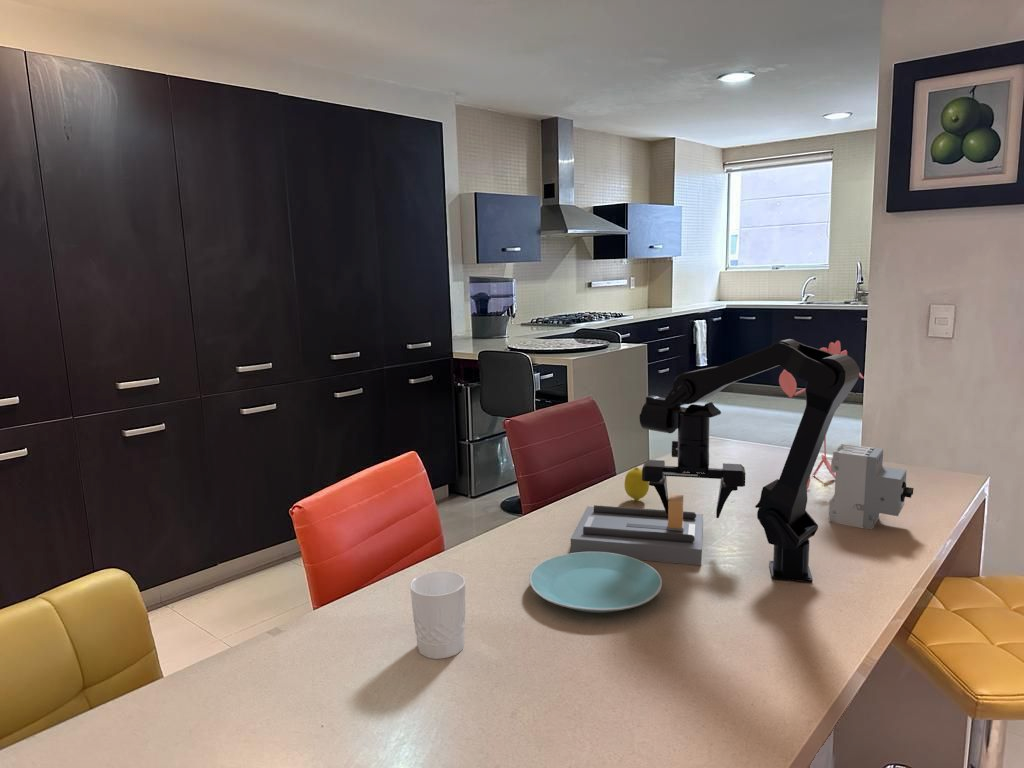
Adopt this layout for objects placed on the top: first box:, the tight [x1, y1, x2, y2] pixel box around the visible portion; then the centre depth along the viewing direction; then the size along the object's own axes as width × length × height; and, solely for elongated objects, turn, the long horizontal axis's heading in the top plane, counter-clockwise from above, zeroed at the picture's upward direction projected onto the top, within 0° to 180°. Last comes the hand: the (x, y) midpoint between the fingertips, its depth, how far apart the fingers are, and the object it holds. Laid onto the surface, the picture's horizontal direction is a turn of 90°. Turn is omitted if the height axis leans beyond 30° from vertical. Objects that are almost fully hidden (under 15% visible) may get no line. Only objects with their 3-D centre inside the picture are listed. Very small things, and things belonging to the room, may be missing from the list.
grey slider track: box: [583, 504, 697, 542], centre depth 135 cm, size 13×21×1 cm, turn 74°
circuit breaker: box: [827, 443, 914, 530], centre depth 140 cm, size 8×14×15 cm, turn 53°
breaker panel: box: [570, 506, 704, 566], centre depth 136 cm, size 18×24×3 cm
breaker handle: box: [667, 493, 684, 531], centre depth 133 cm, size 4×3×6 cm
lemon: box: [624, 467, 650, 502], centre depth 158 cm, size 6×6×8 cm
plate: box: [529, 552, 663, 614], centre depth 115 cm, size 22×22×3 cm
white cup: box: [409, 570, 466, 660], centre depth 99 cm, size 8×8×10 cm
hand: (692, 515), depth 132 cm, fingers open, 9 cm apart
